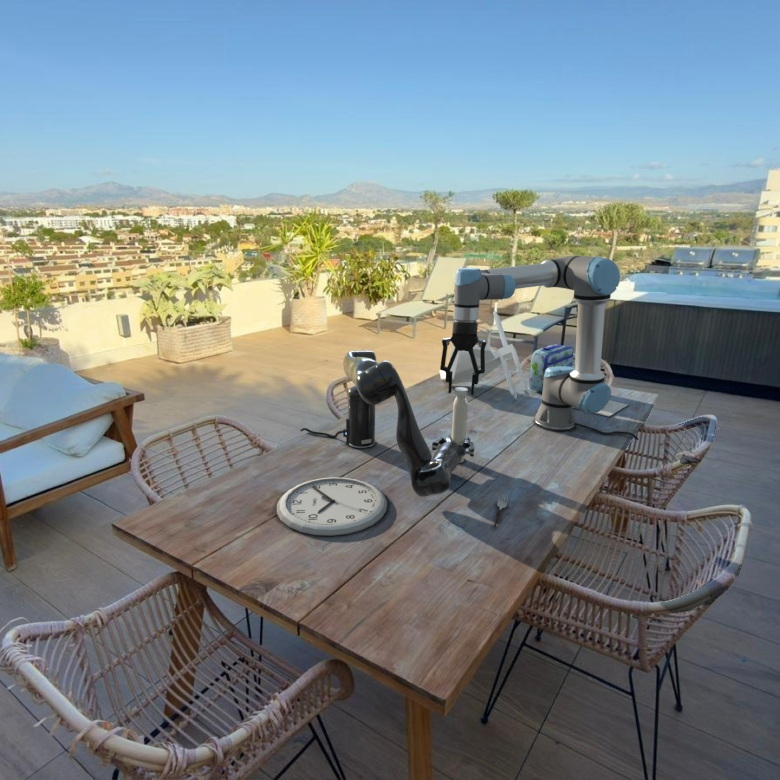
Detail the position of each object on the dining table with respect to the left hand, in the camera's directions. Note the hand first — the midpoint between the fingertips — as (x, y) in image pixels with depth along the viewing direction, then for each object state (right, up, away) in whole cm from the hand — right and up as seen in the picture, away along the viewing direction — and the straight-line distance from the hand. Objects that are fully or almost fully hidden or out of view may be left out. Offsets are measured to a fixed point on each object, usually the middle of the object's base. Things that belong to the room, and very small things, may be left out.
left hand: (460, 438), depth 172 cm
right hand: (-1, +15, -7) cm, 17 cm away
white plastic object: (+19, +15, +71) cm, 75 cm away
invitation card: (+68, +9, +54) cm, 87 cm away
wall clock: (-39, -16, -30) cm, 51 cm away
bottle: (-1, -7, 0) cm, 7 cm away
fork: (+6, -17, -33) cm, 37 cm away
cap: (-1, +16, -8) cm, 18 cm away
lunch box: (+53, +16, +78) cm, 95 cm away
